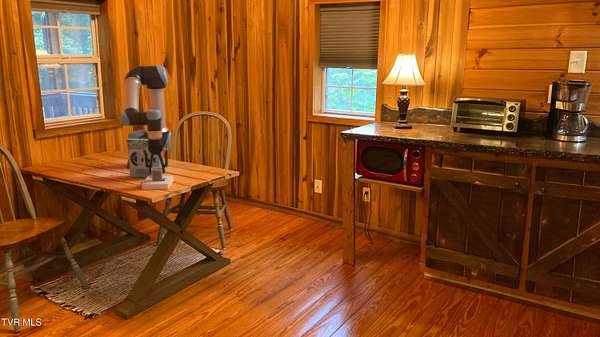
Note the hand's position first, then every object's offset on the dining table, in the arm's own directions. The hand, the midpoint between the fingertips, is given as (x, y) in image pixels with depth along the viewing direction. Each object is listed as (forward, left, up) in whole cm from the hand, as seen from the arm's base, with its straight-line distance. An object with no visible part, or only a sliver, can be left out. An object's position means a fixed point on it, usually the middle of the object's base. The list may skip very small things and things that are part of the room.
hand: (157, 179), depth 274 cm
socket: (0, 0, -3) cm, 3 cm away
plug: (0, 0, -3) cm, 4 cm away
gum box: (-19, -10, -4) cm, 22 cm away
